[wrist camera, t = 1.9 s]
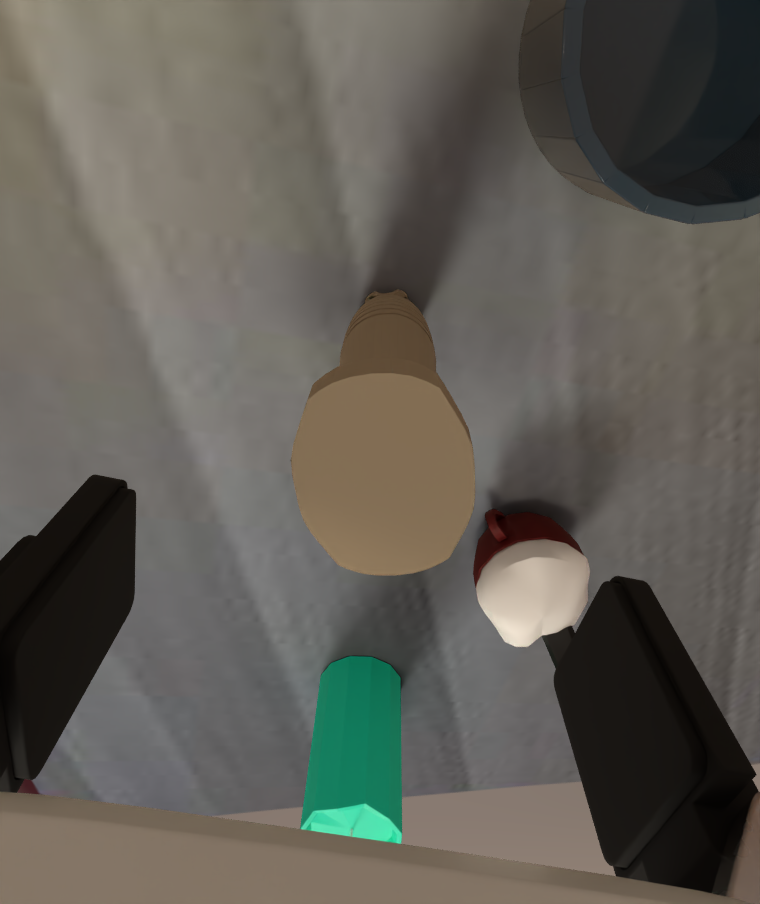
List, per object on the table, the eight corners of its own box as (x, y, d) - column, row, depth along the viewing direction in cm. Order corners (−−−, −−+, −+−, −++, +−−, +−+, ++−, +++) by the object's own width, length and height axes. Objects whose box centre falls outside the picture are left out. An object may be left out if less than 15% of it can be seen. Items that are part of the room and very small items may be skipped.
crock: (580, -185, 19) (664, -325, 13) (870, -94, 20) (1072, -187, 14) (483, 166, 25) (511, 180, 19) (716, 225, 26) (815, 255, 20)
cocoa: (459, 488, 33) (488, 655, 23) (569, 472, 32) (651, 636, 22) (477, 606, 38) (509, 789, 27) (574, 594, 37) (644, 777, 27)
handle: (434, 246, 27) (471, 364, 14) (441, 375, 30) (476, 569, 17) (331, 257, 27) (272, 382, 14) (349, 383, 30) (314, 580, 17)
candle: (418, 685, 42) (426, 870, 31) (360, 720, 44) (349, 904, 34) (360, 643, 40) (348, 826, 29) (303, 681, 42) (272, 865, 32)
